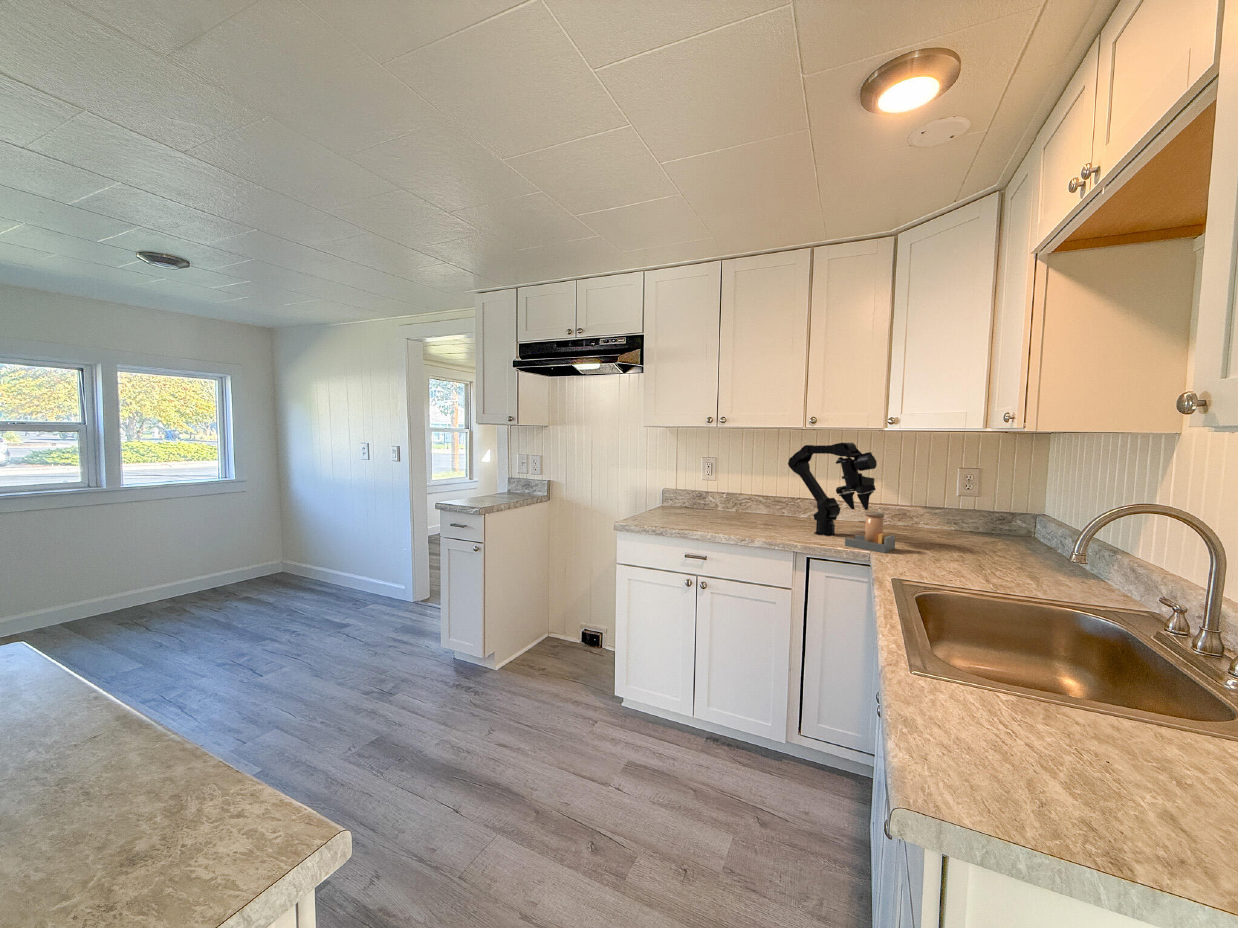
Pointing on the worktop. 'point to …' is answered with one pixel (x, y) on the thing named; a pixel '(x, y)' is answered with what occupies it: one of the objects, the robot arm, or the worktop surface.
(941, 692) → the worktop surface
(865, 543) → the tray
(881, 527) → the terracotta jar
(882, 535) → the block
